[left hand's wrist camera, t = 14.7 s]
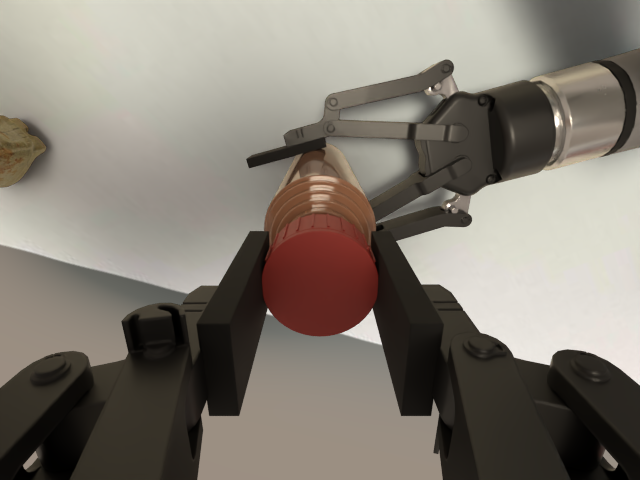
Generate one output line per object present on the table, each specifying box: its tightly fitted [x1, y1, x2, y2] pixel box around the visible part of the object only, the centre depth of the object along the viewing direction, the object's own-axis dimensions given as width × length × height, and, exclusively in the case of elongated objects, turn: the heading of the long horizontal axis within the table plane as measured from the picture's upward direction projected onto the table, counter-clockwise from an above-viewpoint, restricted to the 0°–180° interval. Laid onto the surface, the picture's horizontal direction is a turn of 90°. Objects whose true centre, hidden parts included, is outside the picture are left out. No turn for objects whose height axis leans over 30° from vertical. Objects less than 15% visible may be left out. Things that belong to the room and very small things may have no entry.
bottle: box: [264, 143, 376, 246], centre depth 24 cm, size 6×6×25 cm
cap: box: [262, 214, 378, 336], centre depth 13 cm, size 4×4×2 cm
